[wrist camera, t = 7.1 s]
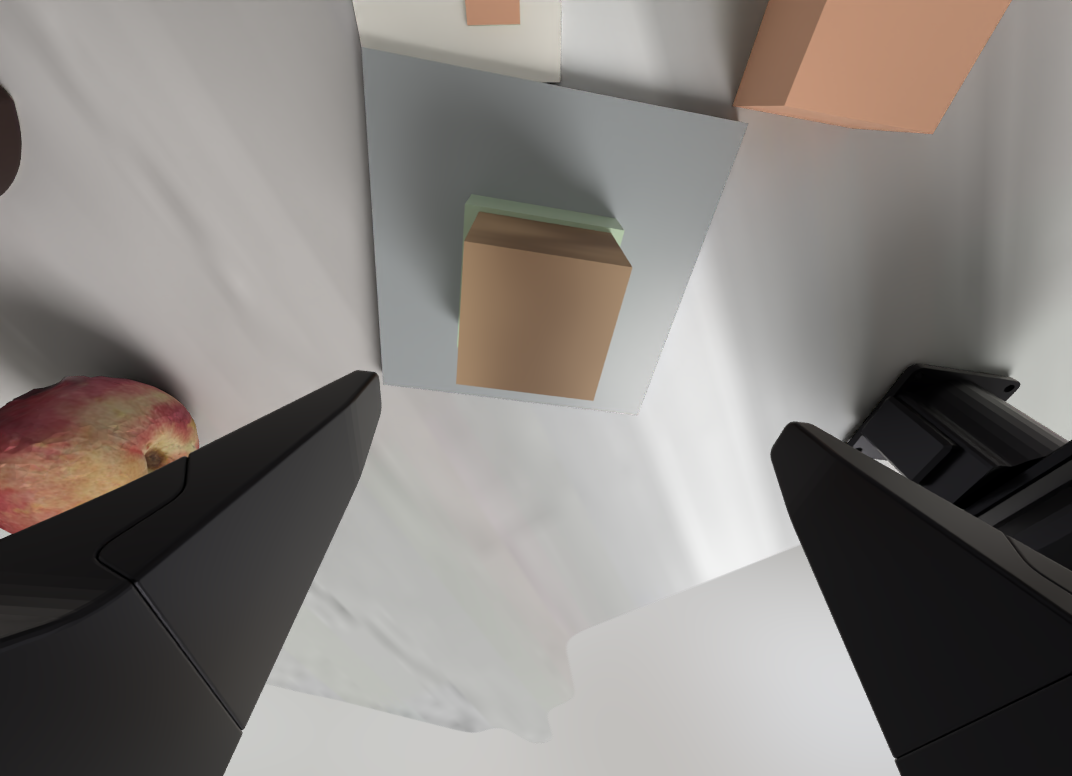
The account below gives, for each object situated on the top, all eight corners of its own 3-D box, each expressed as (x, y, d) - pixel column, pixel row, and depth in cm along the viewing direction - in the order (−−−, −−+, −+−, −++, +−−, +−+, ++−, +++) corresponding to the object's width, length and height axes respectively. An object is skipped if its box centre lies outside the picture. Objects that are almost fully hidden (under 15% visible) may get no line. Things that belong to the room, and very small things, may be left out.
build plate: (739, 122, 16) (774, 125, 14) (634, 406, 24) (645, 439, 21) (369, 49, 15) (338, 39, 12) (387, 376, 22) (370, 407, 20)
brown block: (611, 233, 15) (632, 267, 12) (582, 347, 18) (593, 401, 15) (479, 211, 15) (464, 241, 12) (470, 332, 18) (456, 384, 15)
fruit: (218, 471, 26) (114, 592, 20) (76, 420, 24) (-96, 539, 17) (245, 388, 23) (129, 503, 16) (81, 318, 20) (-135, 420, 14)
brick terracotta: (939, -51, 13) (1072, -103, 10) (851, 128, 16) (932, 133, 13) (796, -85, 13) (887, -151, 10) (731, 105, 16) (784, 105, 12)
